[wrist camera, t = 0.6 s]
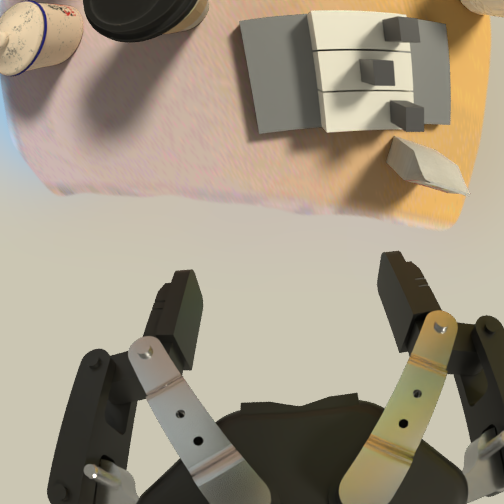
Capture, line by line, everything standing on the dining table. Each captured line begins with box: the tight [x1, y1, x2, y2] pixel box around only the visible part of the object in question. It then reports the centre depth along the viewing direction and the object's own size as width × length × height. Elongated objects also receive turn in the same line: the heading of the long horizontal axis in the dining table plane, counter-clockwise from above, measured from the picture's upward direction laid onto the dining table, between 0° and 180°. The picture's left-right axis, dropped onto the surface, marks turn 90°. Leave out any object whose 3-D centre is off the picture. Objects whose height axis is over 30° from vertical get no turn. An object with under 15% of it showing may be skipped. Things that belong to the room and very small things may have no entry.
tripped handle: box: [359, 59, 395, 86], centre depth 23 cm, size 2×2×4 cm
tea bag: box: [386, 136, 470, 196], centre depth 31 cm, size 4×7×10 cm, turn 82°
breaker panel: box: [239, 10, 451, 134], centre depth 25 cm, size 13×24×9 cm, turn 99°
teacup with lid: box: [0, 0, 83, 76], centre depth 20 cm, size 12×9×12 cm
